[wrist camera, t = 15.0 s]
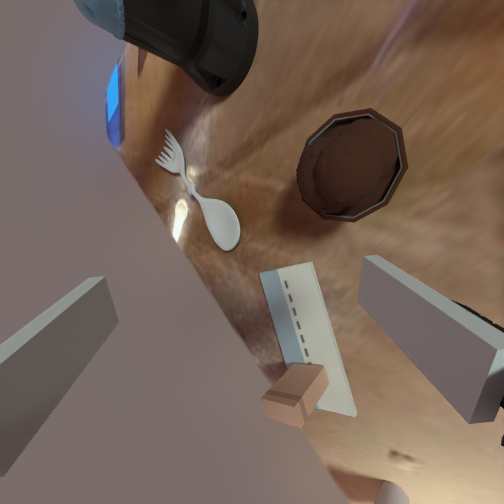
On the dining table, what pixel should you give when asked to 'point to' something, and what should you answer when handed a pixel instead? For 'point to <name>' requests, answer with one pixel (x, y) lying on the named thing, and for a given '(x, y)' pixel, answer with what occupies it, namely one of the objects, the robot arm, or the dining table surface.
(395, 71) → the dining table surface
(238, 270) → the dining table surface
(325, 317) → the board
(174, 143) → the spoon
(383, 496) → the smoothie
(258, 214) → the dining table surface
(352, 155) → the ice cream bowl
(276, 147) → the dining table surface
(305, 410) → the small tan carton
